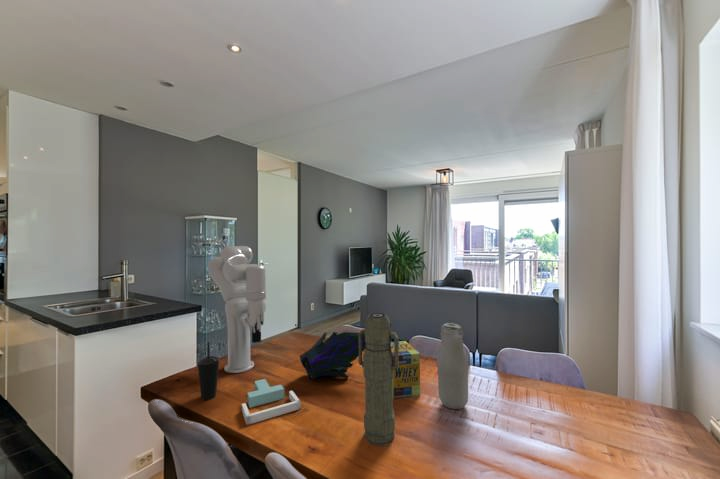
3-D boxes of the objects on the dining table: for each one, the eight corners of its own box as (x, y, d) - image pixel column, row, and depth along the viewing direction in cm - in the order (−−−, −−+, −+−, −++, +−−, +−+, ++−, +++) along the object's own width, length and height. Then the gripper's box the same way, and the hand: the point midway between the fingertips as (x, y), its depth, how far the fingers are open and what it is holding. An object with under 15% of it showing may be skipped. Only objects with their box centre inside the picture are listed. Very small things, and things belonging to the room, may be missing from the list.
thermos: (399, 448, 83) (396, 319, 83) (356, 443, 85) (354, 317, 85) (401, 428, 91) (399, 312, 92) (362, 424, 94) (361, 310, 94)
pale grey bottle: (468, 401, 107) (466, 320, 107) (468, 417, 97) (467, 328, 97) (439, 396, 110) (438, 319, 110) (436, 411, 100) (435, 326, 100)
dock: (241, 411, 102) (241, 403, 102) (292, 397, 111) (292, 390, 111) (246, 425, 94) (246, 417, 94) (300, 408, 103) (300, 401, 103)
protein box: (393, 399, 108) (392, 355, 109) (381, 380, 124) (381, 342, 124) (421, 396, 111) (420, 353, 111) (406, 377, 126) (405, 340, 126)
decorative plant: (309, 394, 131) (368, 363, 144) (319, 397, 109) (389, 360, 121) (292, 348, 137) (351, 322, 149) (299, 341, 115) (367, 311, 127)
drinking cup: (210, 403, 108) (210, 346, 108) (192, 401, 109) (191, 345, 110) (224, 392, 115) (224, 339, 116) (206, 390, 117) (206, 338, 117)
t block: (243, 393, 115) (243, 383, 115) (275, 385, 121) (275, 376, 121) (249, 407, 104) (249, 397, 104) (284, 398, 110) (284, 388, 110)
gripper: (242, 294, 127) (243, 338, 127) (249, 299, 114) (250, 348, 114) (261, 292, 131) (261, 335, 131) (269, 297, 118) (270, 345, 118)
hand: (256, 341), depth 123 cm, fingers closed
